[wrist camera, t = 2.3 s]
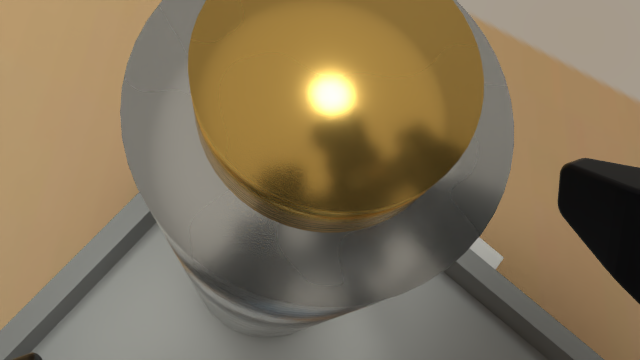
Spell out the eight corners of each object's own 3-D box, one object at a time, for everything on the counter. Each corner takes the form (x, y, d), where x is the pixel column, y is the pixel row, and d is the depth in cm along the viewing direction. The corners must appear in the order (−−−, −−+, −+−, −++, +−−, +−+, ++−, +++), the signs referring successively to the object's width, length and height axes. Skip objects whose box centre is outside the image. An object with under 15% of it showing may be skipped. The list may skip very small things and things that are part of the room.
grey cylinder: (370, 253, 19) (632, 58, 6) (276, 370, 17) (381, 412, 5) (261, 161, 19) (311, -190, 7) (160, 269, 18) (-10, 73, 5)
